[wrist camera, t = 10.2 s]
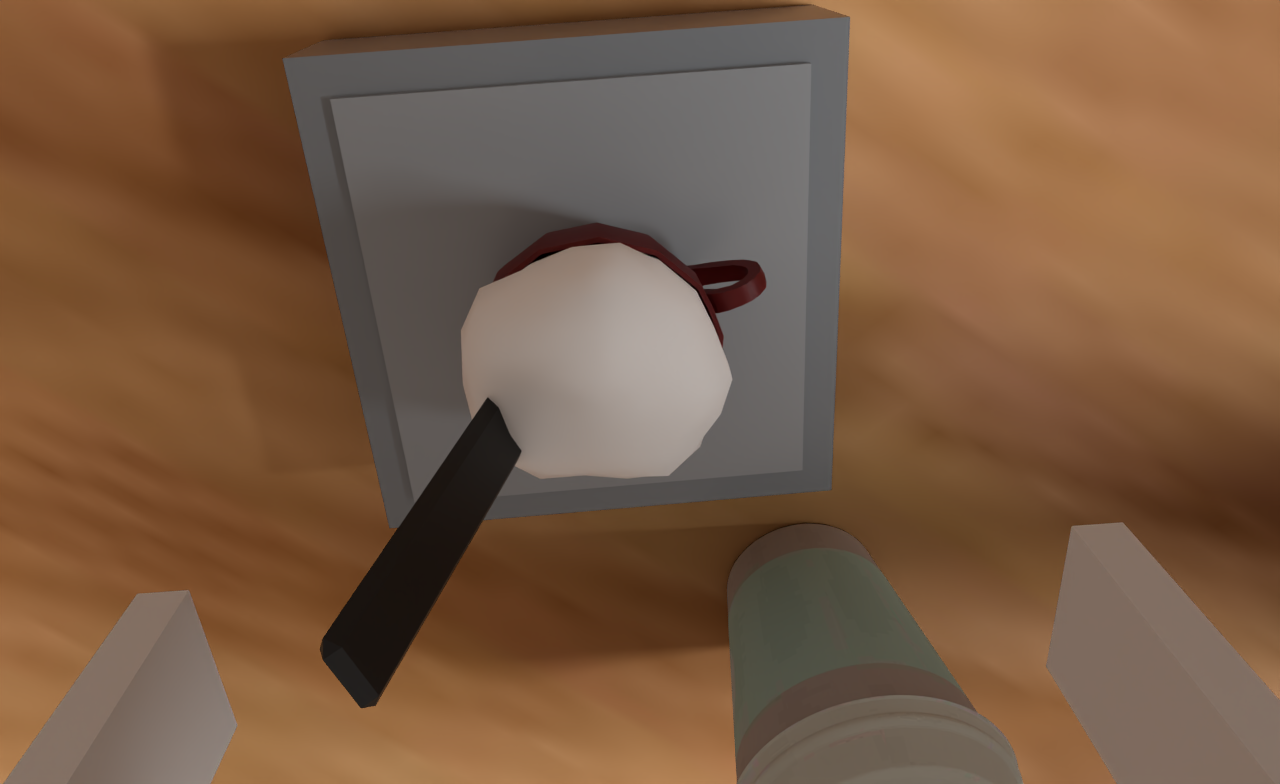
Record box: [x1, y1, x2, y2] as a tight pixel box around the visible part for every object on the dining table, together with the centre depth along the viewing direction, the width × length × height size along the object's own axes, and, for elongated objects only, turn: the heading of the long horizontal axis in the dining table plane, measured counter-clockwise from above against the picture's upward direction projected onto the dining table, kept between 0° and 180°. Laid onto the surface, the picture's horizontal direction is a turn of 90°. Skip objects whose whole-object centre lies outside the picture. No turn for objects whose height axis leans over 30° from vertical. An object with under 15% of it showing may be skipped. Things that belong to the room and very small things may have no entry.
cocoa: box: [320, 222, 766, 708], centre depth 20 cm, size 10×6×12 cm, turn 90°
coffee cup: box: [727, 524, 1023, 784], centre depth 31 cm, size 8×8×12 cm
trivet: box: [283, 5, 850, 528], centre depth 27 cm, size 14×14×4 cm
